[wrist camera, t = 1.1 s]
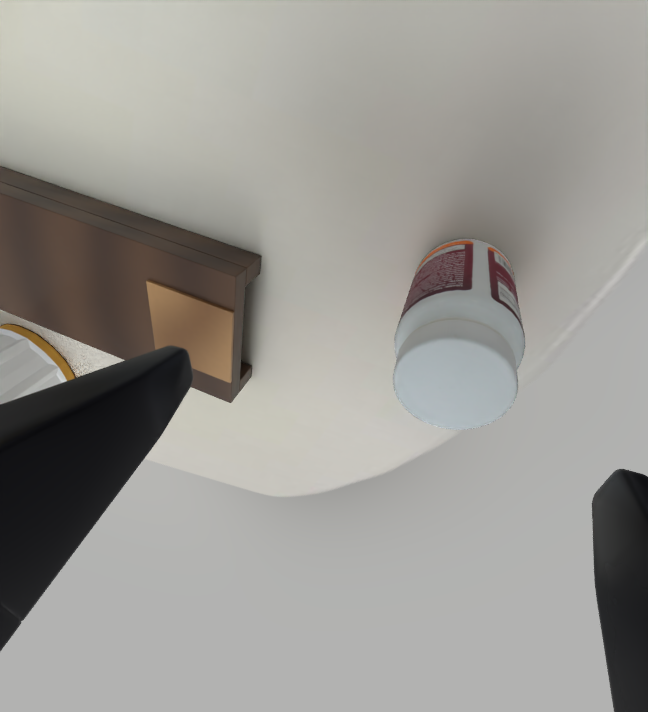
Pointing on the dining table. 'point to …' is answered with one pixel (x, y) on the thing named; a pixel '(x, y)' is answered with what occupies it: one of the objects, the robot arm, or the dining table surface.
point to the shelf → (123, 280)
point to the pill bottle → (460, 337)
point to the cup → (28, 364)
